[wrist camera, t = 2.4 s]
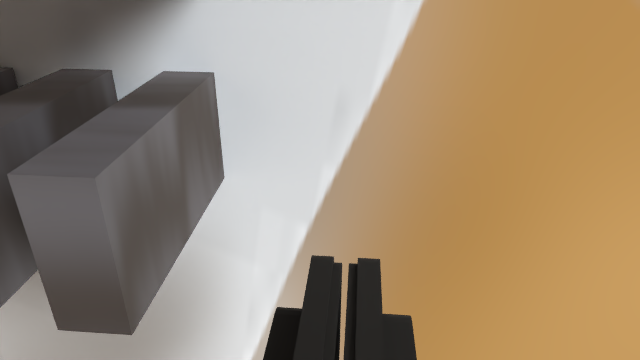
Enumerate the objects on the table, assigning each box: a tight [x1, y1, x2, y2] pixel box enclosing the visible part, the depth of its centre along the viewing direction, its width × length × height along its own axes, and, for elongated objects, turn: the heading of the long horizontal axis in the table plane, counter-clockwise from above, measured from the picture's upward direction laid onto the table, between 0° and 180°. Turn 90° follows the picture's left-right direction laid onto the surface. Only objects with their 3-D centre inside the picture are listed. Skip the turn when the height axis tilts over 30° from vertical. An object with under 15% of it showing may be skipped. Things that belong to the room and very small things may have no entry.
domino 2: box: [7, 71, 224, 335], centre depth 17 cm, size 5×2×10 cm, turn 0°
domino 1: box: [0, 69, 118, 307], centre depth 17 cm, size 5×2×10 cm, turn 0°
